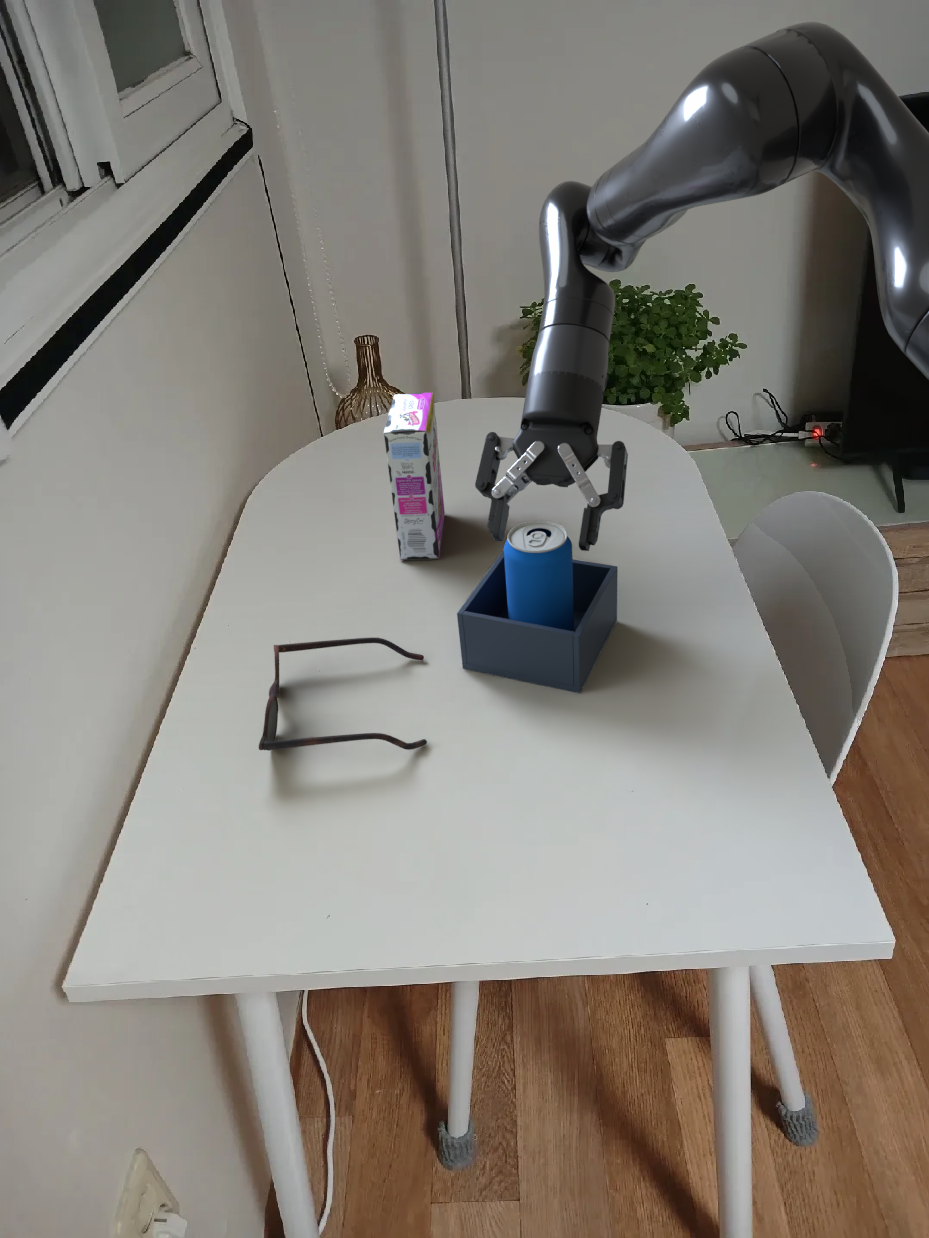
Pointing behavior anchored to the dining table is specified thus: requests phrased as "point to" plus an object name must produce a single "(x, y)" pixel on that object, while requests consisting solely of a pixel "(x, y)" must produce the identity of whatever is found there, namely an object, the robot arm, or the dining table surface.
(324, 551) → the dining table surface
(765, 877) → the dining table surface
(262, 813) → the dining table surface
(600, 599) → the bin
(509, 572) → the beverage can
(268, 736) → the eyeglasses
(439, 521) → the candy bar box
